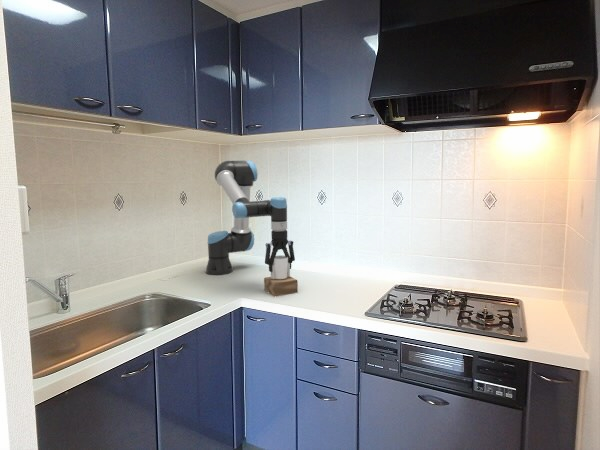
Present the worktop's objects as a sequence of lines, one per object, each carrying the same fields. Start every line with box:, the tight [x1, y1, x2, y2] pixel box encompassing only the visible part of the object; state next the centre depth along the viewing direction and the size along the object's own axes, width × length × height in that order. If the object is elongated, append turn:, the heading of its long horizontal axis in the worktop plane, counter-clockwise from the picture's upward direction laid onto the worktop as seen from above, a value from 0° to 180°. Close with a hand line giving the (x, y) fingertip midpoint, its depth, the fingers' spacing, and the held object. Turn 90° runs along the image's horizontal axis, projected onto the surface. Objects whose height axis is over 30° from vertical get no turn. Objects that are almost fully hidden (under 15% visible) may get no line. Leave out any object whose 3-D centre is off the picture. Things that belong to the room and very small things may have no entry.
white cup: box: [273, 255, 288, 279], centre depth 185 cm, size 8×8×10 cm
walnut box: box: [263, 275, 299, 297], centre depth 186 cm, size 12×12×6 cm
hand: (280, 276), depth 186 cm, fingers closed on white cup, 7 cm apart
